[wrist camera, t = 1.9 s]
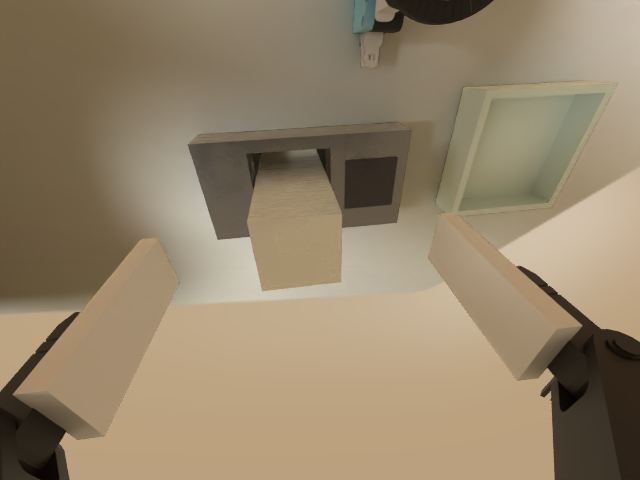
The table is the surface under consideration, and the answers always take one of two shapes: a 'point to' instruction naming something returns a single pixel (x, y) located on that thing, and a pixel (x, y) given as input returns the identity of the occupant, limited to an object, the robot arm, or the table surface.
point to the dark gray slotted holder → (341, 169)
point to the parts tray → (517, 144)
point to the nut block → (295, 222)
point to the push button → (387, 17)
